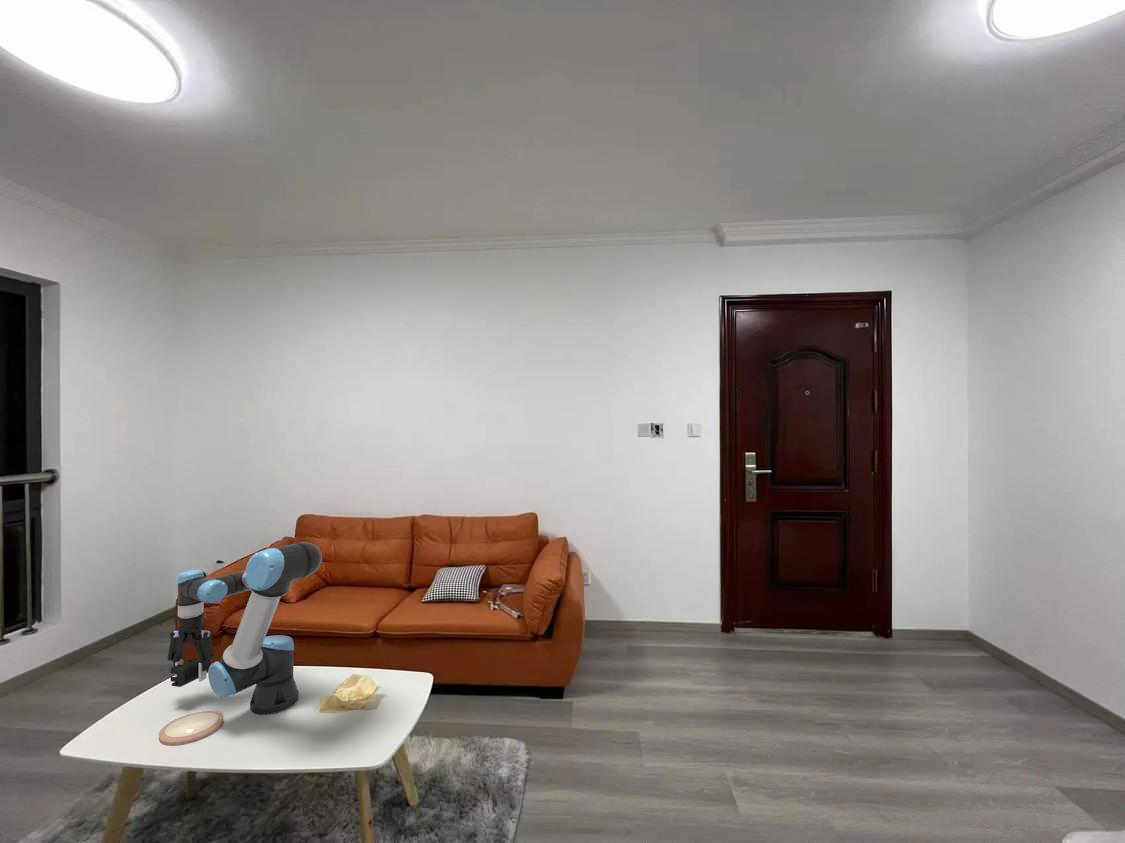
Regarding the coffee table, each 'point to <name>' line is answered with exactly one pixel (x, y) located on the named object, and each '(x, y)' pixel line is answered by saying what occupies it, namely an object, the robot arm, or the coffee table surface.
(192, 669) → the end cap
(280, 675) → the robot arm
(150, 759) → the coffee table surface
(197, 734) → the plate
